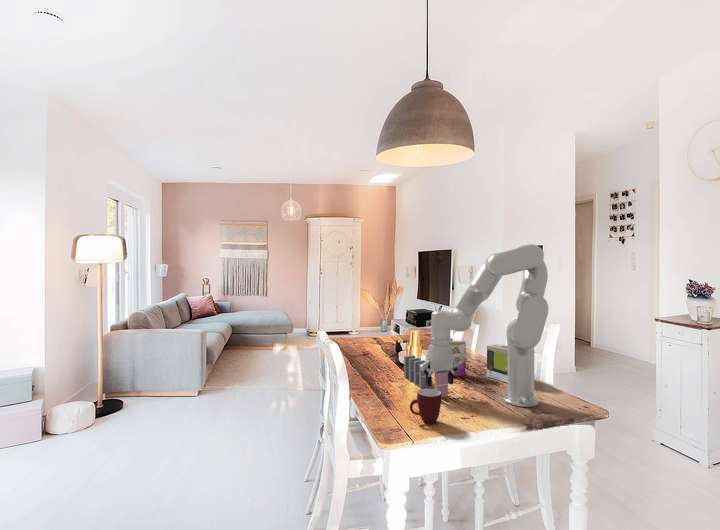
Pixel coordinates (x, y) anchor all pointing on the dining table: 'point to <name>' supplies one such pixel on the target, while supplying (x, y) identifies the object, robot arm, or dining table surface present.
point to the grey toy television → (497, 362)
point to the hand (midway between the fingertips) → (439, 384)
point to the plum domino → (441, 382)
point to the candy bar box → (459, 356)
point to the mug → (428, 405)
